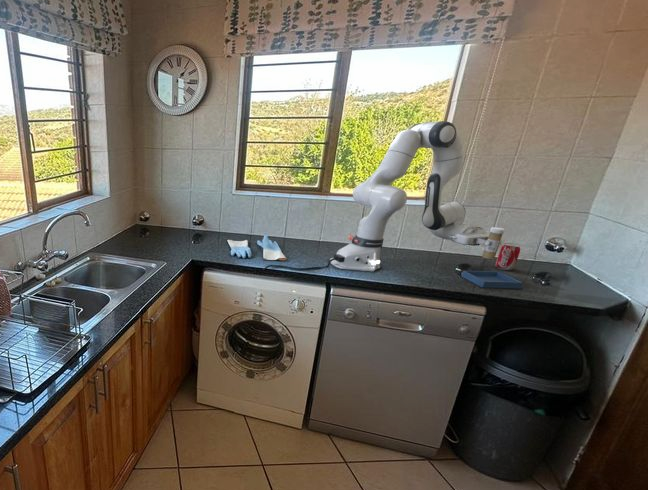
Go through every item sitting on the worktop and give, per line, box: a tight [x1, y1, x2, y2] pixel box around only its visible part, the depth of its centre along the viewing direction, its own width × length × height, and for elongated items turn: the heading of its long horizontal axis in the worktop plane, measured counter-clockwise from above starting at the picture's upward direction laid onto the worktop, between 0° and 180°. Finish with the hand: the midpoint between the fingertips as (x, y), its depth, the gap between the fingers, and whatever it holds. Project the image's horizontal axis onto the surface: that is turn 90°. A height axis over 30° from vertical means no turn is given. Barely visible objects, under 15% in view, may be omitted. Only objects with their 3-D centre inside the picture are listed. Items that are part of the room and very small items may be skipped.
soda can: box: [494, 242, 521, 271], centre depth 191 cm, size 7×7×12 cm
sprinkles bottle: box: [481, 226, 506, 260], centre depth 174 cm, size 5×5×14 cm
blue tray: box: [460, 270, 523, 290], centre depth 176 cm, size 16×14×3 cm
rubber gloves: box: [227, 234, 288, 261], centre depth 216 cm, size 27×33×6 cm
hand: (495, 243), depth 173 cm, fingers closed on sprinkles bottle, 4 cm apart
